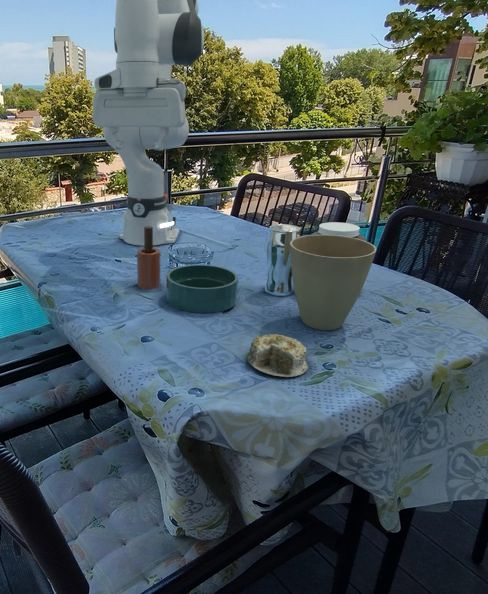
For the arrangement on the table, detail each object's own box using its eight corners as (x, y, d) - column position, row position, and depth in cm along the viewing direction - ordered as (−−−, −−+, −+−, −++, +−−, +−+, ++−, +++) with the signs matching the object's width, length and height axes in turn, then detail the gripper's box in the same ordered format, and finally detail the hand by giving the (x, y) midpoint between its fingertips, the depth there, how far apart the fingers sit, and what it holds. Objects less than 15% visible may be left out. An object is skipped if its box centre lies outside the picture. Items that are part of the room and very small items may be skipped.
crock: (142, 282, 114) (142, 246, 111) (163, 284, 112) (163, 248, 109) (134, 289, 109) (133, 253, 106) (155, 292, 108) (155, 255, 104)
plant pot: (292, 302, 101) (300, 231, 95) (366, 316, 94) (380, 240, 88) (272, 329, 90) (280, 249, 83) (355, 347, 82) (371, 262, 76)
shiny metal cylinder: (288, 299, 103) (296, 233, 97) (258, 293, 106) (264, 229, 101) (297, 289, 108) (305, 226, 103) (268, 283, 112) (274, 222, 106)
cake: (248, 348, 84) (251, 320, 82) (306, 356, 81) (311, 327, 79) (243, 372, 75) (246, 341, 73) (308, 382, 72) (313, 351, 70)
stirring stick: (146, 282, 112) (146, 225, 106) (154, 283, 111) (154, 226, 106) (143, 285, 110) (142, 227, 105) (151, 286, 109) (150, 228, 104)
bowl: (179, 285, 112) (179, 261, 109) (242, 293, 106) (244, 269, 104) (156, 309, 99) (156, 283, 96) (227, 320, 93) (229, 292, 91)
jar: (312, 277, 115) (320, 218, 109) (362, 287, 109) (373, 224, 103) (296, 292, 106) (304, 228, 101) (350, 303, 100) (361, 236, 94)
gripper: (190, 78, 94) (189, 149, 100) (101, 81, 102) (103, 147, 107) (181, 76, 89) (179, 152, 94) (87, 80, 96) (90, 149, 101)
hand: (138, 149), depth 101 cm, fingers open, 8 cm apart
